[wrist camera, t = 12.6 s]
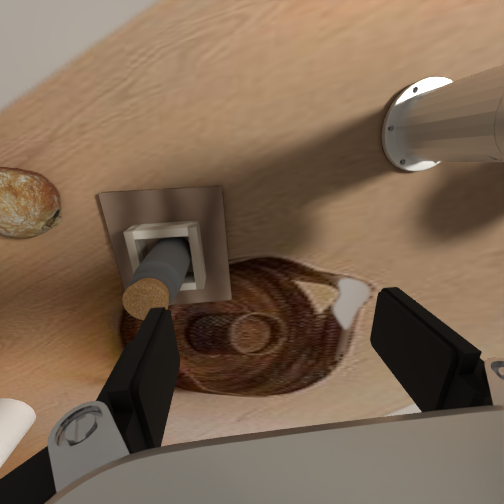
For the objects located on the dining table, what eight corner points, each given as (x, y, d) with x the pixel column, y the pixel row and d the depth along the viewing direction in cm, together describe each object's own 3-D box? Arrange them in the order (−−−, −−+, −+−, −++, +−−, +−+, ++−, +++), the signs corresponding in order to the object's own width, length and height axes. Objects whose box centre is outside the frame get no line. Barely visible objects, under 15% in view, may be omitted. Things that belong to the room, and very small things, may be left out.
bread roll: (60, 231, 42) (53, 254, 36) (-28, 215, 35) (-54, 240, 29) (71, 176, 39) (65, 191, 33) (-23, 149, 32) (-51, 161, 26)
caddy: (221, 185, 38) (220, 189, 33) (231, 296, 45) (231, 313, 40) (102, 192, 36) (82, 197, 32) (132, 304, 44) (119, 322, 39)
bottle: (153, 263, 40) (113, 319, 26) (159, 230, 38) (119, 272, 24) (188, 271, 41) (168, 329, 27) (196, 239, 39) (178, 285, 25)
